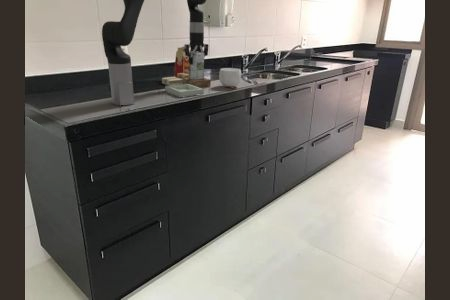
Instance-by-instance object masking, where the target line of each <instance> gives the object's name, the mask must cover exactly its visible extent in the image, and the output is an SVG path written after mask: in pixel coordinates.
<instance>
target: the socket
mask: <svg viewBox="0 0 450 300" xmlns="http://www.w3.org/2000/svg"><path fill="white" fill-rule="evenodd" d="M183 84H190V85H193V86H196V87H199V88H202V89H204V88H205V89H206V88H211V79H209V78H207V77H204V79H202V80H192V79H189V78H183Z"/></svg>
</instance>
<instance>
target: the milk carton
mask: <svg viewBox="0 0 450 300" xmlns="http://www.w3.org/2000/svg"><path fill="white" fill-rule="evenodd" d="M189 53H190V51H189ZM177 73H186V74H189V57H188V56H186V55H185V46H184V45H183V46H181V47H177V50H176V53H175V61H174V77H177Z"/></svg>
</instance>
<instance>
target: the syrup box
mask: <svg viewBox="0 0 450 300" xmlns="http://www.w3.org/2000/svg"><path fill="white" fill-rule="evenodd" d="M192 58H193V65H190V63H189V79H192V80H202V79H204V78H205V77H204V76H205V75H204V73H205V71H204V70H205V66H204V65H205V57H204V53H201V52H195V53H194V54H193V57H192Z"/></svg>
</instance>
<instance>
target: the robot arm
mask: <svg viewBox="0 0 450 300" xmlns="http://www.w3.org/2000/svg"><path fill="white" fill-rule="evenodd" d="M206 2H207V0H186V3H187V7H188V11H189V43H188V44H184V45H183V47H184V46H185V55H186V56H188V57H189V63H190V65H193V58H192V57H193V54H194V53H195V52H201V53H204V58H205V57H207V56H208V55H209V54H208V53H209V44H207V43H204V40H205V35H204V34H205V27H204V12H203V10H200V8H199V7H200V5H204V4H205V3H206ZM144 3H145V0H123V5H124V12H123V15H122V17H121V19H120V21H113V20H112V21H110V20H109V21H106V22H104V23H103V25H102V28H101V37H102V44H103V51H104V54H105V57H106V59H107V65H108V67H107V68H108V75H109V85H110V94H111V101H112V105H115V106H121V105H123V106H129V105H134V104H135V95H134V94H135V93H134V84H133V71H132V60H131V56H130V55H129V54H128V53H126V52H125V51H124V50H123V48H122V47H127V46H129V45H130V44H131V43H132V41H133V39H134V35H135V32H136V28H137V23H138V20H139V17H140V13H141V11H142V8H143V4H144ZM189 52H190V53H189Z"/></svg>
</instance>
